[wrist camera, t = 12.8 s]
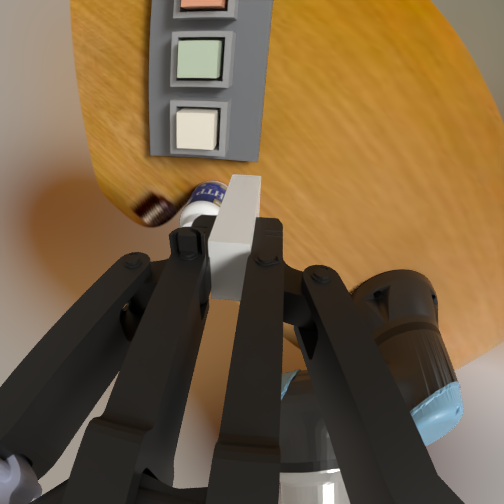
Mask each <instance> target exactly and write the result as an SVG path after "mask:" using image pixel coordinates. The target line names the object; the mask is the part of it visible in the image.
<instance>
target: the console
mask: <svg viewBox="0 0 504 504" xmlns="http://www.w3.org/2000/svg"><path fill="white" fill-rule="evenodd" d="M272 8H273V0H227V10H187V9H185V8H182V7H181V0H152V7H151V24H150V47H149V127H150V152H151V155H153V156H179V157H198V158H213V159H226V160H238V161H250V162H258V157H259V147H260V137H261V126H262V115H263V104H264V93H265V83H266V72H267V61H268V50H269V40H270V29H271V18H272ZM193 40H217V41H224V49H223V64H222V76H220V77H218V78H177V66H178V42H179V41H193ZM184 107H209V108H220V118H219V140H218V143H217V144H216V146H215V148H214V149H213V150H205V149H186V148H177V112H178V111H180V110H181V109H183V108H184Z"/></svg>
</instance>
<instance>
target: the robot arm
mask: <svg viewBox="0 0 504 504" xmlns="http://www.w3.org/2000/svg"><path fill="white" fill-rule="evenodd" d="M260 186H261V176H254V175H236V174H233V175H232V177H231V180H230V183H229V185H228V188H227V191H226V193H225V196H224V199H223V201H222V204H221V207H220V209H219V212H218V215H200V216H198V217H197V218H196V219H194V221H193V223H192V225H191V227H181V228H177V229H175V230H174V231H172V232H171V233H170V234H169V240H170V248H171V255H170V257H169V259H166V260H161V261H153V262H150V258H149V257H148V255H147V254H144V253H141V252H134V253H129V254H126V255H124V256H123V257H121V258H120V259H119V260H118V261H117V262H116V263H115V264H113V265H112V266H111V268H109V269H108V270H107V271H106V272H105V273H104V274H103V275H102V276H101V277H100V278H99V279H98V280H97V281H96V282H95V283H94V284H93V285H92V286H91V287H90V288H89V289H88V290H87V291H86V292H85V293H84V294H83V295H82V296H81V297H80V298H79V299H78V300H77V301H76V302H75V303H74V304H73V305H72V306H71V308H70V309H69V310H68V311H67V312H66V313H65V314H64V315H63V316H62V317H61V318H60V319H59V320H58V321H57V323H55V325H54V326H53V327H52V328H51V329H50V330H49V331H48V332H47V333H46V334H45V335H44V337H43V338H42V339H41V340H40V341H39V342H38V343H37V344H36V346H35V347H34V348H33V349H32V350H31V351H30V352H29V354H28V355H27V356H26V357H25V358H24V359H23V361H22V362H21V363H20V364H19V365H18V366H17V368H16V369H15V370H14V371H13V372H12V373H11V375H10V376H9V377H8V379H7V380H6V381H5V382H4V383H3V384H2V386H1V387H0V504H278V497H279V481H280V482H281V493H282V494H281V495H282V504H350V503H351V504H464V502H463V501H461V499H460V498H459V497H458V496H457V495H456V494H455V493H454V492H453V491H452V490H451V489H450V488H449V487H448V485H447V484H445V482H444V481H443V480H442V479H441V478H440V477H439V476H438V475H437V472H436V470H435V468H434V465H433V463H432V460H431V458H430V456H429V454H428V451H427V449H426V447H425V446H427V445H429V444H431V443H433V442H434V441H436V440H438V439H439V438H441V437H442V436H444V435H445V434H447V433H448V432H449V431H450V430H451V429H453V428H454V427H455V426H456V425H457V423H458V422H459V421H460V419H461V417H462V415H463V410H464V406H463V401H462V397H461V393H460V384H459V382H458V381H457V378H456V375H455V372H454V369H453V366H452V363H451V360H450V358H449V355H448V352H447V350H446V347H445V344H444V342H443V339H442V337H441V334H440V331H439V328H438V301H437V296H436V293H435V290H434V288H433V286H432V284H431V282H430V281H429V280H428V278H427V277H425V276H424V275H422V274H421V273H418V272H415V271H411V270H395V271H389V272H386V273H383V274H380V275H378V276H375V277H373V278H372V279H370V280H368V281H367V282H365V283H364V284H362V285H361V286H360V287H359V288H358V289H357V290H356V291H355V292H354V293H353V295H352V296H350V294H349V292H348V290H347V289H346V287H345V285H344V283H343V281H342V280H341V278H340V276H339V274H338V273H337V272H336V271H335V270H333V269H332V268H330V267H327V266H324V265H313V266H309V267H307V268H306V269H305V270H304V272H302V271H299V270H296V269H293V268H291V267H290V266H288V265H287V264H286V263H285V262H284V260H283V225H282V223H281V222H280V221H279V219H276V218H262V217H259V206H260ZM210 291H211V298H213V299H225V300H235V301H240V308H239V314H238V320H237V326H236V332H235V339H234V345H233V351H232V357H231V364H230V370H229V376H228V383H227V390H226V395H225V402H224V408H223V414H222V420H221V427H220V434H219V438H218V441H217V443H216V445H215V449H214V454H213V459H212V465H211V471H210V477H209V484H208V487H203V488H186V489H177V488H173V487H172V486H173V480H174V456H175V451H176V447H177V442H178V438H179V433H180V428H181V424H182V420H183V415H184V411H185V406H186V402H187V398H188V393H189V389H190V384H191V380H192V376H193V372H194V367H195V363H196V359H197V355H198V351H199V346H200V343H201V338H202V334H203V330H204V326H205V322H206V318H207V314H208V310H209V294H210ZM126 303H127V305H126V306H125V304H126ZM124 306H125V307H124ZM123 307H124V308H123ZM122 308H123V309H122ZM283 322H285V323H288V324H291V325H294V331H295V334H296V337H297V340H298V343H299V346H300V349H301V352H302V354H303V358H304V361H305V364H306V367H307V370H304V371H301V370H300V369H297V370H295V371H293V372H287V373H282V351H283ZM119 371H120V372H119ZM118 372H119V374H118ZM117 374H118V377H117V379H116V382H115V384H114V387H113V390H112V392H111V395H110V398H109V400H108V403H107V406H106V409H105V411H104V413H103V414H102V415H101V416H100V417H95V418H93V419H92V420H91V421H90V422H89V424H88V426H87V428H86V430H85V433H84V436H83V438H82V441H81V444H80V447H79V450H78V453H77V456H76V459H75V462H74V465H73V468H72V471H71V474H70V477H69V479H67V480H66V481H64V482H63V483H61V484H59V485H58V486H56V487H55V488H53V489H52V490H50V491H48V492H47V493H45V494H43V495H42V496H41V494H42V488H41V486H40V484H39V483H38V480H39V479H40V478H41V477H42V476H44V475H45V474H46V473H47V472H48V471H49V470H50V469H51V468H52V467H53V466H54V464H55V463H56V462H57V460H58V459H59V458H60V456H61V455H62V453H63V452H64V450H65V449H66V447H67V446H68V444H69V443H70V441H71V440H72V439H73V437H74V435H75V434H76V433H77V431H78V430H79V428H80V427H81V425H82V423H83V422H84V421H85V419H86V418H87V416H88V415H89V413H90V412H91V411H92V409H93V408H94V406H95V405H96V403H97V402H98V401H99V399H100V398H101V396H102V395H103V393H104V392H105V391H106V389H107V388H108V386H109V385H110V383H111V382H112V381H113V379H114V378H115V376H116V375H117ZM33 498H37V499H35V500H34V501H32V499H33ZM31 501H32V502H31ZM349 501H350V503H349Z"/></svg>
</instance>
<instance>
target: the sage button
mask: <svg viewBox="0 0 504 504" xmlns="http://www.w3.org/2000/svg"><path fill="white" fill-rule="evenodd" d="M223 49H224V41H217V40H193V41H179V42H178V66H177V78H218V77H220V76H222V64H223Z"/></svg>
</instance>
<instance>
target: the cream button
mask: <svg viewBox="0 0 504 504" xmlns="http://www.w3.org/2000/svg"><path fill="white" fill-rule="evenodd" d="M219 118H220V108H209V107H184V108H183V109H181V110H180V111H178V112H177V148H186V149H205V150H213V149H214V148H215V146H216V144H217V143H218V140H219Z"/></svg>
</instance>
